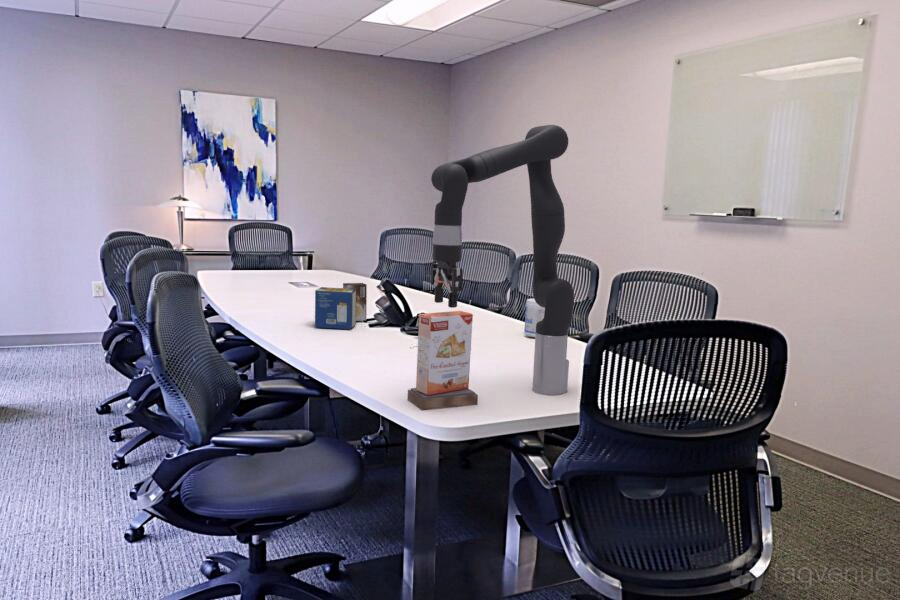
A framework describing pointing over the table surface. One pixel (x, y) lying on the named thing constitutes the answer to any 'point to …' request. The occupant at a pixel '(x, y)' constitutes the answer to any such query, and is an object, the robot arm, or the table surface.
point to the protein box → (335, 308)
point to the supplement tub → (532, 317)
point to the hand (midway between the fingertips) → (445, 304)
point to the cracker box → (443, 352)
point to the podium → (442, 399)
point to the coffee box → (359, 299)
